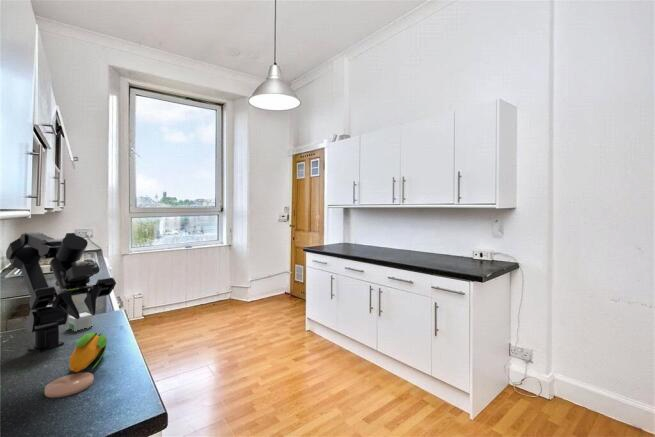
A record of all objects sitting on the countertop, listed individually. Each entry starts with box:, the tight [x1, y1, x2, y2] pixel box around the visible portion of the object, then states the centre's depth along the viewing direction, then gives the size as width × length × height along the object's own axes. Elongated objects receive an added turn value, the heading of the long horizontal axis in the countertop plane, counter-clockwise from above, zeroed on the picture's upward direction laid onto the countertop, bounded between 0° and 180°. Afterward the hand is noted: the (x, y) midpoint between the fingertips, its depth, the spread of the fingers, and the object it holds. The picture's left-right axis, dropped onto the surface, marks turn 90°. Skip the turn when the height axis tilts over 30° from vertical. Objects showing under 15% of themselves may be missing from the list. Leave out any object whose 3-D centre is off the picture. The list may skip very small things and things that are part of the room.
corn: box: [69, 332, 108, 373], centre depth 85 cm, size 7×8×20 cm
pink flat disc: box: [44, 372, 95, 399], centre depth 74 cm, size 9×9×1 cm
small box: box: [67, 311, 94, 332], centre depth 114 cm, size 6×6×5 cm
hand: (86, 316), depth 85 cm, fingers open, 3 cm apart
